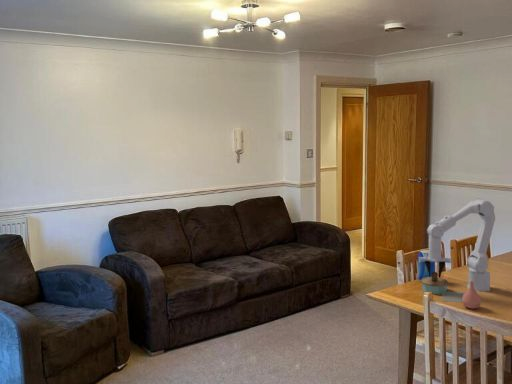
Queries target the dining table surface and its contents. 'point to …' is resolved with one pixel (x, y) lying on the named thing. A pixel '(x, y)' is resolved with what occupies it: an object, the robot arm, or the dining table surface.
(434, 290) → the bowl
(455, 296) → the mat
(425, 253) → the beer can
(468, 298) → the perfume bottle
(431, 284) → the lid
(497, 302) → the dining table surface
